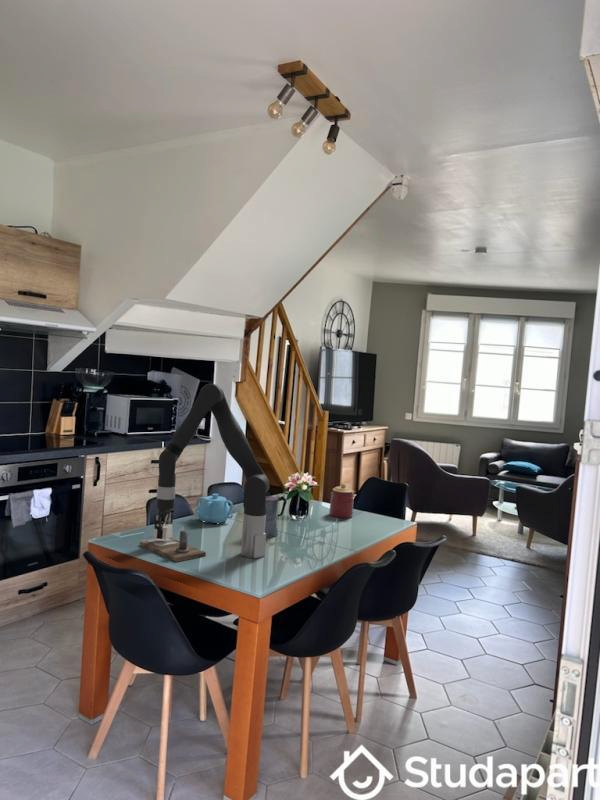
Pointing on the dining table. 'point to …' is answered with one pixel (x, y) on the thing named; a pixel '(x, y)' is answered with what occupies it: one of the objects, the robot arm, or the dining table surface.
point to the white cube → (165, 531)
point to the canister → (341, 502)
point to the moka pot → (272, 514)
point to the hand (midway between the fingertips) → (162, 536)
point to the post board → (173, 548)
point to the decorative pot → (214, 509)
